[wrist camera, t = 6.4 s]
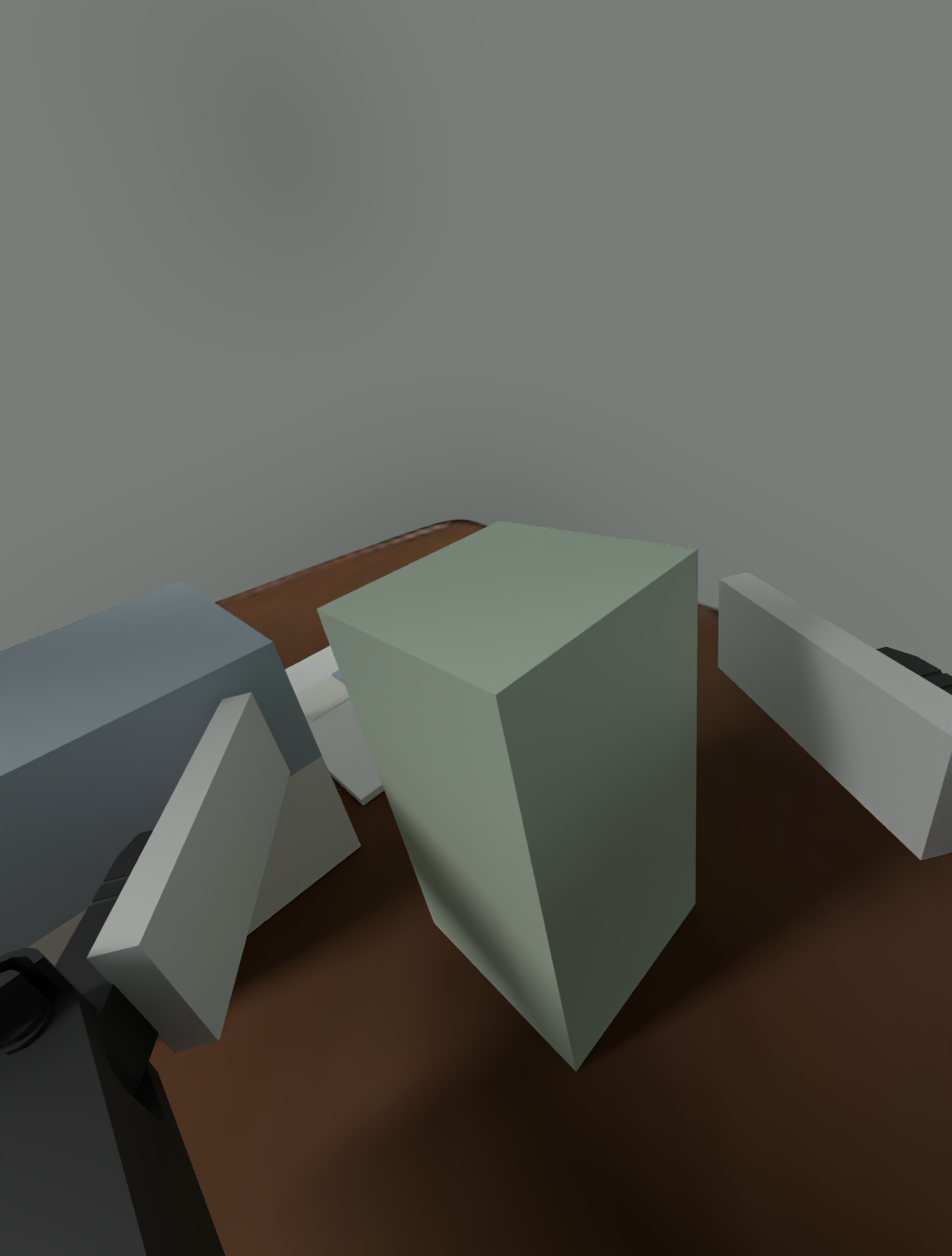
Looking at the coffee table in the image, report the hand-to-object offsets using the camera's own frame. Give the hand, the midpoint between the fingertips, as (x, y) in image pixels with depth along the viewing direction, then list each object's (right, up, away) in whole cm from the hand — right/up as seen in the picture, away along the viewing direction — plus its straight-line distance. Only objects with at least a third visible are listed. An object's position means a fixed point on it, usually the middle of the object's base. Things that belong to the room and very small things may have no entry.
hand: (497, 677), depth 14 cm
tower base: (-11, -7, +4) cm, 13 cm away
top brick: (+2, -6, 0) cm, 7 cm away
